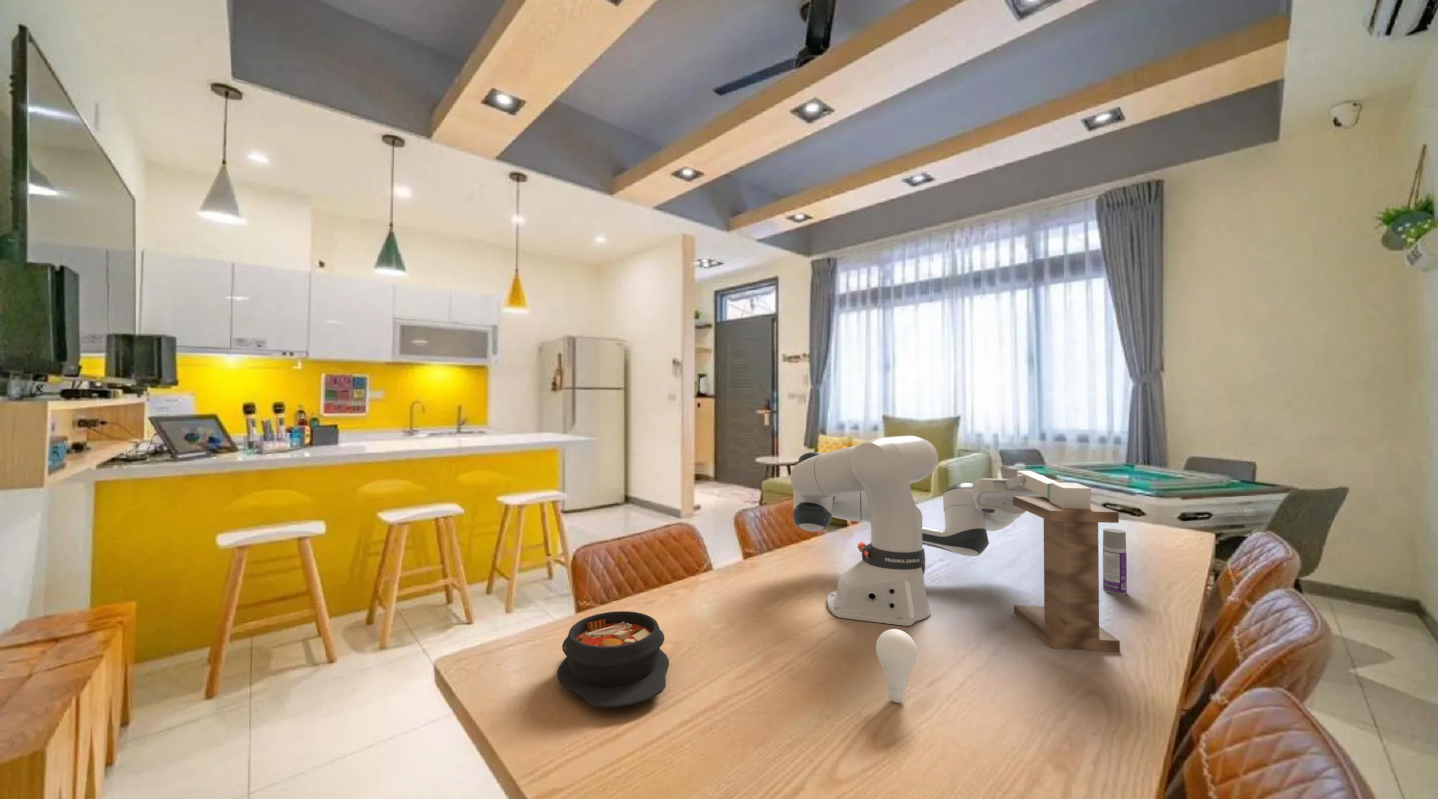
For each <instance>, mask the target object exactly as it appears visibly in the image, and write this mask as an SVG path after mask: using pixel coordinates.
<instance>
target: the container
mask: <svg viewBox="0 0 1438 799" xmlns="http://www.w3.org/2000/svg"><path fill="white" fill-rule="evenodd" d="M1102 533H1103V534H1102V590H1103V591H1104V592H1107V593H1109V594H1112V595H1113V594H1114V595H1119V596H1121V595H1122V596H1123V595H1127V594H1128V592H1127V591H1128V589H1127V588H1128V583H1127V582H1128V581H1127V580H1128V576H1127V574H1128V573H1127V572H1128V569H1127V568H1128V567H1127V564H1128V562H1127V560H1128V559H1127V558H1128V557H1127V536H1126V533H1127V532H1126V530H1122V529H1117V528H1103V529H1102Z"/></svg>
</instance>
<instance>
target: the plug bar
mask: <svg viewBox="0 0 1438 799" xmlns="http://www.w3.org/2000/svg"><path fill="white" fill-rule="evenodd" d="M1017 475H1024V476H1025V479H1026V482H1025V483H1024V484H1023V485H1021V486H1023V487H1025V488H1028V489H1030V490H1032V491H1034V492H1036V493H1038V494H1040V495H1042V496H1044V497H1046V498H1047V499H1048V500H1050V502H1051V503H1053V504H1055V505H1057V506H1059V507H1061V508H1070V509H1091V504H1092V502H1091V501H1092V488H1090V487H1088V486H1086V485H1083V484H1080V483H1078V482H1066V483H1059V482H1056V481H1054V480H1055V479H1052V478H1049V477H1046V476H1045V475H1043V476H1042V475H1041V474H1039V473H1036V472H1035V471H1032V470H1016V476H1017ZM1044 476H1045V477H1044Z"/></svg>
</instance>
